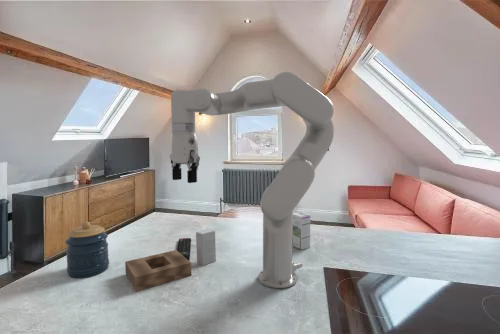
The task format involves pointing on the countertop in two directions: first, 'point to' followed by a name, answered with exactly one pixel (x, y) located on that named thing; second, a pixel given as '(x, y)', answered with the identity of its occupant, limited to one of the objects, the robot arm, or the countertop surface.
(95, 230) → the canister
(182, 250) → the remote control
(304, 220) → the syrup box
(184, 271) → the frame
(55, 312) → the countertop surface
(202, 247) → the skincare box
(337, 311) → the countertop surface
